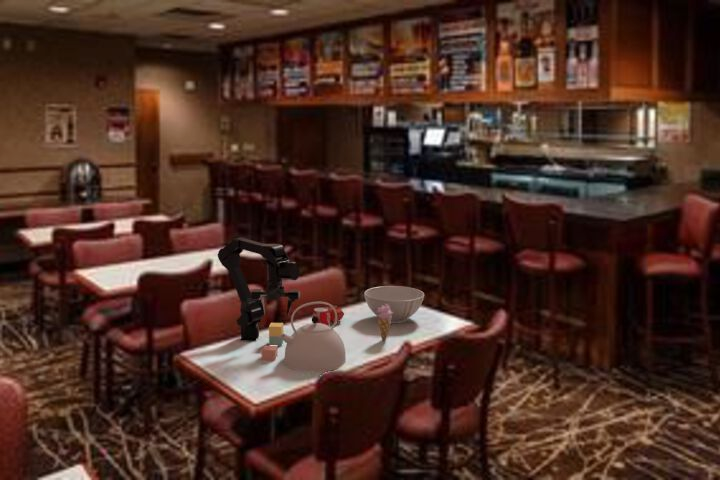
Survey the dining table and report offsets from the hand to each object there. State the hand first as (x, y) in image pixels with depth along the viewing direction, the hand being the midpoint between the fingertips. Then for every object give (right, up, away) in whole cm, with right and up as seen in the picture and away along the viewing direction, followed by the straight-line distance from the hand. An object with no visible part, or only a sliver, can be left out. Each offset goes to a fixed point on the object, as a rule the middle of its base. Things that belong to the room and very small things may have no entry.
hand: (275, 315), depth 266 cm
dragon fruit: (+21, -7, +32) cm, 39 cm away
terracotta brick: (-1, -15, -12) cm, 19 cm away
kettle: (+15, -15, -15) cm, 26 cm away
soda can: (+17, -11, +12) cm, 23 cm away
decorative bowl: (+48, -6, +38) cm, 62 cm away
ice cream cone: (+43, -11, +9) cm, 45 cm away
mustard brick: (0, -8, +3) cm, 8 cm away
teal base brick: (0, -12, +4) cm, 12 cm away
